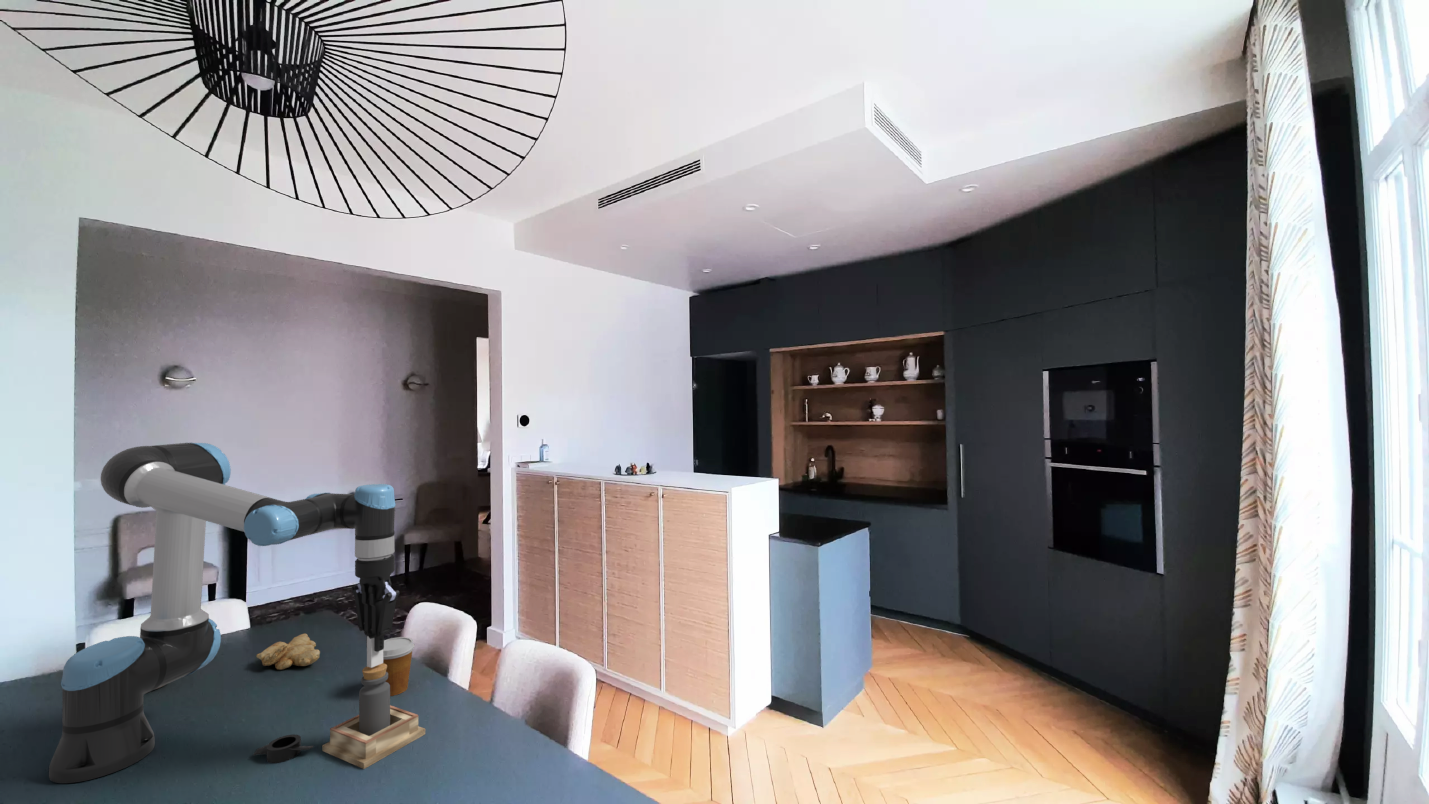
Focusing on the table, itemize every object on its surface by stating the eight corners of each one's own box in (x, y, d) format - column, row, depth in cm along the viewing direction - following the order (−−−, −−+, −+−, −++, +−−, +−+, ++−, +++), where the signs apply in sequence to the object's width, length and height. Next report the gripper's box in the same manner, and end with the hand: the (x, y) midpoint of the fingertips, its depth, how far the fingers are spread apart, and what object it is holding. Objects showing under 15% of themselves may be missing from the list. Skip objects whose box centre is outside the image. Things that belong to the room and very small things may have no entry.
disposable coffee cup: (382, 703, 145) (382, 654, 145) (365, 692, 150) (365, 645, 150) (421, 688, 152) (421, 642, 152) (404, 678, 158) (404, 633, 158)
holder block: (322, 750, 125) (322, 729, 125) (384, 719, 137) (384, 699, 137) (364, 769, 119) (364, 746, 119) (425, 734, 131) (425, 713, 131)
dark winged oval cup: (290, 740, 129) (290, 727, 129) (317, 752, 125) (317, 738, 125) (249, 759, 122) (249, 745, 122) (277, 773, 118) (277, 758, 118)
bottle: (376, 745, 125) (376, 674, 125) (352, 742, 126) (352, 672, 126) (396, 730, 130) (396, 663, 130) (373, 727, 132) (373, 660, 132)
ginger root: (259, 653, 171) (267, 626, 171) (322, 657, 177) (330, 630, 178) (242, 678, 156) (251, 648, 157) (312, 681, 163) (320, 652, 164)
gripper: (410, 555, 129) (410, 663, 129) (372, 549, 134) (372, 652, 134) (377, 564, 122) (377, 678, 122) (339, 556, 128) (339, 665, 128)
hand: (375, 664), depth 128 cm, fingers closed
